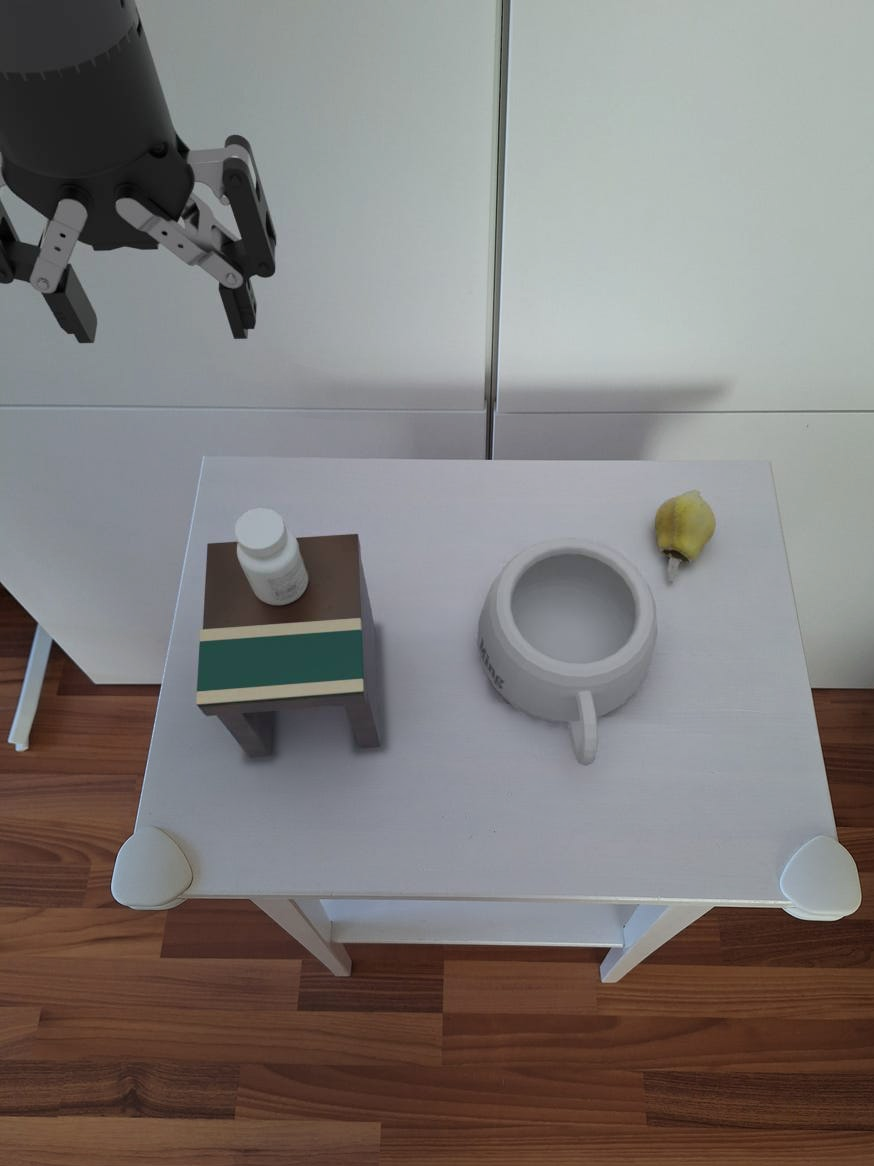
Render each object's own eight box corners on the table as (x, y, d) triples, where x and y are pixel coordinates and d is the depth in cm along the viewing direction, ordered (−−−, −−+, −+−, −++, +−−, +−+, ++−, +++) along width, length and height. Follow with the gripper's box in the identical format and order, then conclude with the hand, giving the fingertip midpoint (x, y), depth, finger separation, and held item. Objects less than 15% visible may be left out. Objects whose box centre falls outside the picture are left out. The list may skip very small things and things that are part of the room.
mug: (469, 581, 81) (471, 527, 72) (629, 571, 82) (652, 516, 73) (489, 786, 72) (494, 754, 63) (669, 772, 73) (700, 738, 64)
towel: (198, 707, 57) (195, 704, 57) (202, 633, 60) (199, 629, 59) (364, 694, 58) (363, 690, 58) (361, 621, 61) (360, 617, 60)
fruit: (638, 581, 82) (649, 495, 85) (689, 596, 83) (698, 511, 86) (667, 563, 76) (678, 471, 79) (721, 579, 78) (730, 489, 81)
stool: (249, 768, 72) (198, 707, 57) (252, 630, 78) (207, 543, 63) (381, 757, 73) (364, 694, 58) (375, 621, 79) (357, 533, 64)
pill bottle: (318, 567, 63) (301, 511, 56) (294, 614, 61) (274, 562, 54) (267, 551, 63) (244, 493, 56) (242, 596, 61) (215, 543, 54)
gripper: (-186, 65, 29) (28, 385, 43) (215, 62, 30) (291, 376, 44) (-136, -47, 32) (48, 287, 46) (225, -46, 33) (293, 280, 47)
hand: (166, 330), depth 45 cm, fingers open, 8 cm apart
